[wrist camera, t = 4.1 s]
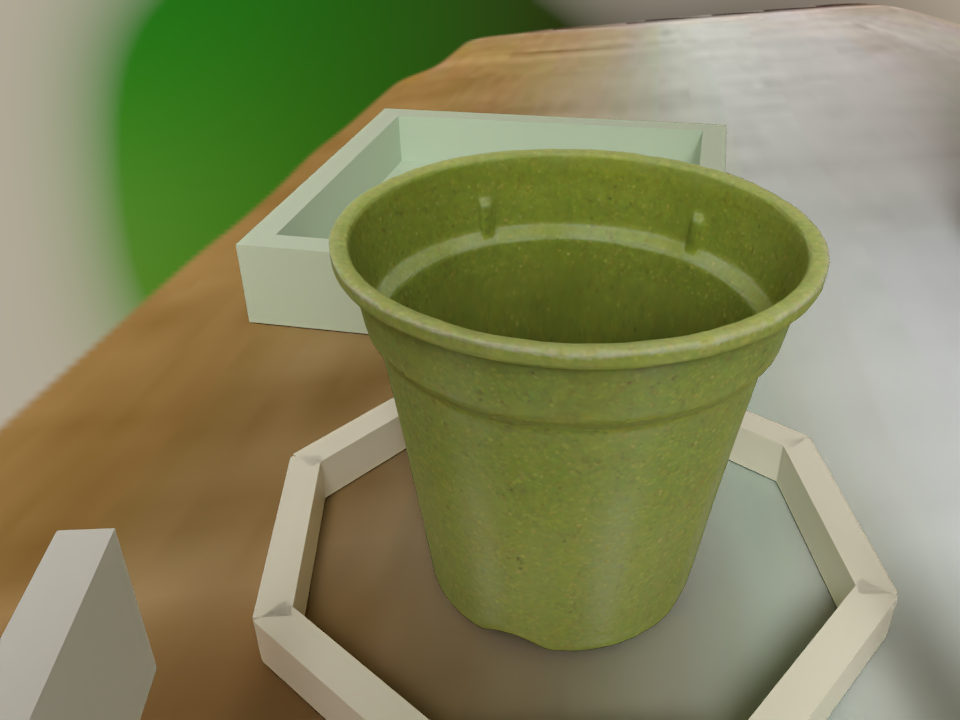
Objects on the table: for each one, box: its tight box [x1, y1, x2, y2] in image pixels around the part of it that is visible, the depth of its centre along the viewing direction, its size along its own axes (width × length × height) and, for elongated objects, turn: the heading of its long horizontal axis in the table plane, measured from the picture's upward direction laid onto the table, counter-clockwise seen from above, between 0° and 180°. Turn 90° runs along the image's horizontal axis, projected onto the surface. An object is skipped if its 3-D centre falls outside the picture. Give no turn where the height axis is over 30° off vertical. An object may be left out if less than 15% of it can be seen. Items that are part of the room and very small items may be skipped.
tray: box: [236, 109, 726, 334], centre depth 37 cm, size 16×16×3 cm
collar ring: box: [253, 397, 898, 720], centre depth 22 cm, size 14×14×1 cm
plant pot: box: [329, 149, 830, 651], centre depth 20 cm, size 9×9×9 cm
